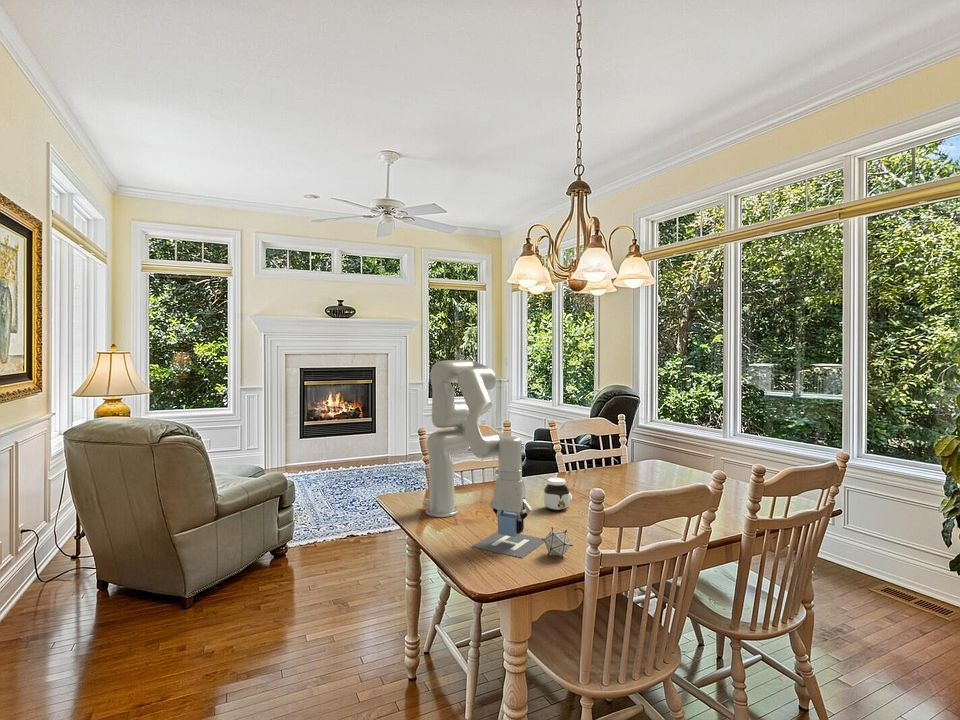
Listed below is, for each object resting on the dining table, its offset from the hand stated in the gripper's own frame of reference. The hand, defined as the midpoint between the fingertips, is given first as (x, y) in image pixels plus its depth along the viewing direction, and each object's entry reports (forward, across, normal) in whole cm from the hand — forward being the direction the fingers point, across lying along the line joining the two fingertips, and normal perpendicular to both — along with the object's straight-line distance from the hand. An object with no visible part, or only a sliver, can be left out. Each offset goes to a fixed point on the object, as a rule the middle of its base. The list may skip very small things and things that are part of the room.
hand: (510, 529), depth 172 cm
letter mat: (+4, 0, 0) cm, 4 cm away
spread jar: (+5, -2, +44) cm, 44 cm away
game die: (+4, +15, 0) cm, 15 cm away
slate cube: (+1, 0, 0) cm, 1 cm away
